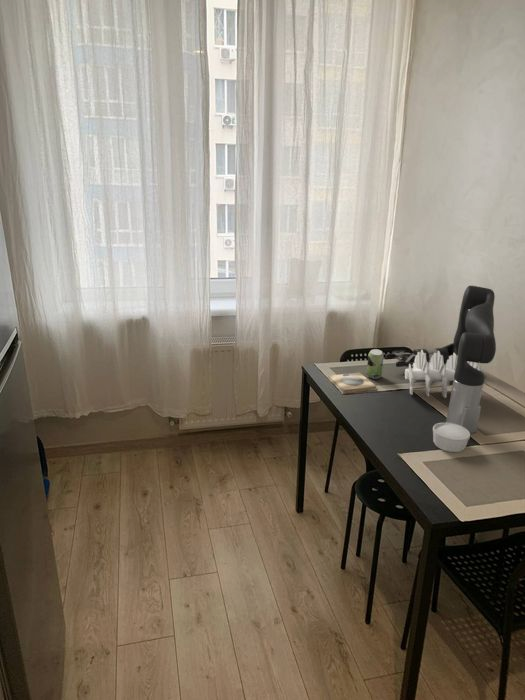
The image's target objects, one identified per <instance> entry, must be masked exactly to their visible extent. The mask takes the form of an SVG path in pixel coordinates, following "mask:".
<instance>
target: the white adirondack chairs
mask: <svg viewBox="0 0 525 700" xmlns="http://www.w3.org/2000/svg"><path fill="white" fill-rule="evenodd" d="M457 356H458V355H457ZM457 356H456V354H455V353H453V355H451V356H449V359H448V360H447V363H445V364H444V361H443V355H441V354H440V352H439V351H438V353H434V355H432V357H431V360H430V362H431V363H430V362H427V360H426V353H423V350H421V352H417V355H416V357H415V360H414V362H415V363H413V365H412V366H413V368H411V364H409V367H407V368H405V370H404V378H405V380H409V394H410V395H411V396H412V395H414V393H413V392H414V385H415V383H417V381H425V386H424V387H425V395H426V396H427V397H430V392H431V389H430V388H431V384H432V383H433V382H434V381H441V383H440V384H441V394H442V397H445V398H448V397H447V394H448V386H450V383H451V382H453V380H454V375H455V370H456V364H457ZM467 363H468V364H469V365H471V366H472V367H474V368H475V369H477V370H479V371H481V365H479V363H476V362H469V361H467Z"/></svg>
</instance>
